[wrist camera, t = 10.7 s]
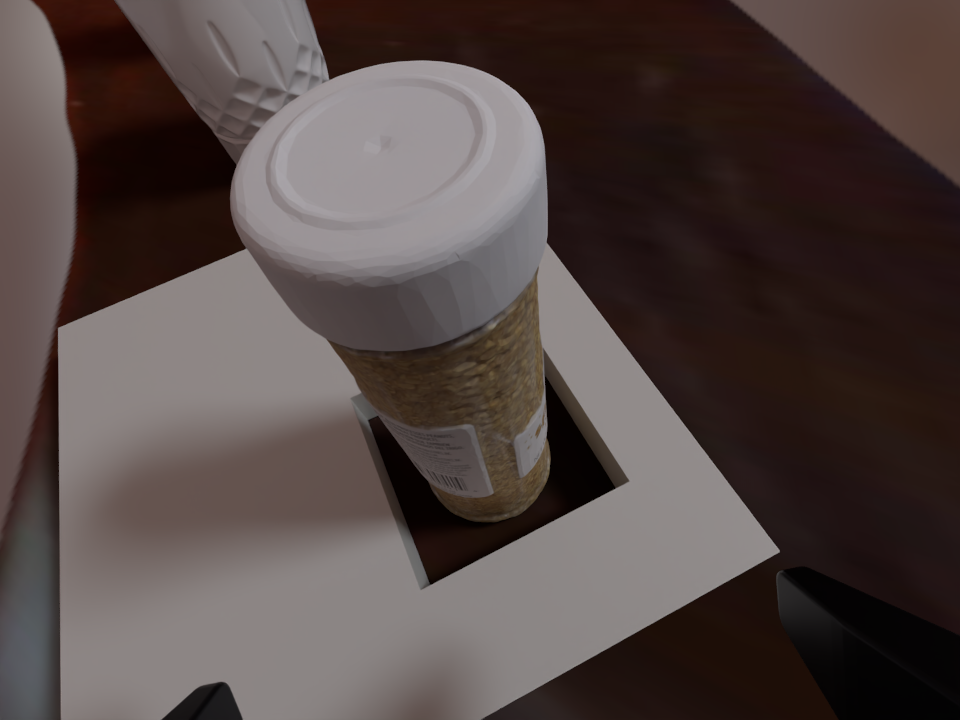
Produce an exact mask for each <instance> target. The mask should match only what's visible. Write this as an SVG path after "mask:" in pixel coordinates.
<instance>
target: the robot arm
mask: <svg viewBox="0 0 960 720" xmlns="http://www.w3.org/2000/svg"><path fill="white" fill-rule="evenodd" d="M777 592H778V604H779V614H780V619H781V622H782V624H783V627H784V629H785V631H786V633H787V634H788V636H789V638H790V639H791V641H792V643H793V644H794V646H795V648H796V649H797V651H798V653H799V654H800V656H801V658H802V659H803V661H804V663H805V664H806V666H807V668H808V669H809V671H810V673H811V674H812V676H813V678H814V679H815V681H816V683H817V684H818V686H819V688H820V689H821V691H822V693H823V694H824V696H825V698H826V699H827V701H828V703H829V704H830V706H831V708H832V709H833V711H834V713H835V714H836V716H837V718H838V719H839V720H960V635H958V634H955V633H953V632H951V631H949V630H946V629H944V628H942V627H940V626H937V625H935V624H933V623H931V622H929V621H926V620H924V619H922V618H920V617H917V616H915V615H913V614H911V613H908V612H906V611H904V610H902V609H900V608H897V607H895V606H893V605H891V604H888V603H886V602H884V601H882V600H879V599H877V598H875V597H873V596H871V595H868V594H866V593H864V592H862V591H859V590H857V589H855V588H853V587H850V586H848V585H846V584H844V583H841V582H839V581H837V580H835V579H833V578H830V577H828V576H826V575H824V574H821V573H819V572H817V571H815V570H812V569H810V568H807V567H795V568H790V569H785V570H781V571H780V572H778V574H777ZM161 720H243V718H242V715H241V713H240V710H239V708H238V706H237V703H236V701H235V698H234V696H233V693H232V691H231V689H230V687H229V685H228V684H227V683H225V682H216V683H211V684H206V685H202V686H200V687H198V688H196V689H195V690H194V691H193V692H192V693H191V694H189V695H188V696H187V697H186V698H185V699H184V700H183V701H182V702H180V703H179V704H178V705H177V706H176V707H175V708H174V709H173V710H171V711H170V712H169V713H168V714H167V715H166V716H165V717H164V718H163V719H161Z"/></svg>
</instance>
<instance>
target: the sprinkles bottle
mask: <svg viewBox="0 0 960 720" xmlns="http://www.w3.org/2000/svg"><path fill="white" fill-rule="evenodd" d="M230 203H231V213H232V219H233V222H234V225H235V228H236V230H237V232H238V234H239V236H240V238H241V240H242V242H243V244H244V245H245V247H246V248H247V249H248V251H249V252H250V254H251V255H252V257H253V258H254V260H255V261H256V263H257V264H258V266H259V267H260V269H261V270H262V272H263V273H264V275H265V276H266V278H267V279H268V281H269V282H270V283H271V285H272V286H273V287H274V289H275V290H276V291H277V293H278V294H279V295H280V297H281V298H282V299H283V301H284V302H285V303H286V305H287V306H288V307H289V309H290V310H291V311H292V312H293V314H294V315H295V316H296V317H297V318H298V319H299V320H300V321H301V322H302V323H303V324H305V325H306V326H307V327H308V328H310V329H311V330H312V331H314V332H316V333H317V334H319V335H320V336H322V337H324V338H326V339H327V341H328V342H329V343H330V345H331V346H332V348H333V349H334V351H335V352H336V354H337V355H338V356H339V357H340V358H341V360H342V361H343V362H344V364H345V365H346V367H347V368H348V370H349V371H350V373H351V374H352V375H353V376H354V378H355V381H356V384H357V386H358V388H359V390H360V391H361V393H362V394H363V396H364V397H365V399H366V400H367V402H368V403H369V405H370V406H371V407H372V408H373V410H374V411H375V412H376V414H377V415H378V416H379V418H380V419H381V420H382V422H383V423H384V424H385V426H386V427H387V428H388V430H389V431H390V432H391V434H392V435H393V436H394V438H395V439H396V440H397V442H398V443H399V444H400V446H401V447H402V448H403V450H404V451H405V453H406V454H407V455H408V457H409V458H410V459H411V461H412V462H413V464H414V465H415V466H416V468H417V469H418V470H419V472H420V473H421V474H422V475H423V476H424V477H425V478H426V479H427V480H428V482H429V484H430V487H431V489H432V491H433V493H434V494H435V495H436V496H437V498H438V500H439V501H440V502H441V503H442V504H443V505H444V506H445V507H446V508H447V509H448V510H449V511H450V512H452V513H454V514H455V515H457V516H460V517H462V518H465V519H467V520H471V521H474V522H498V521H500V520H506V519H508V518H512V517H515V516H517V515H519V514H521V513H522V512H523V511H525V510H526V509H527V508H528V507H529V506H530V505H531V504H532V503H533V502H534V501H535V500H536V499H537V497H538V495H539V493H540V492H541V491H542V489H543V487H544V485H545V484H546V482H547V479H548V476H549V471H550V461H551V457H550V449H549V443H548V440H547V438H546V436H547V411H546V396H545V376H544V356H543V345H542V339H541V333H540V329H539V304H538V282H537V275H538V270H539V264H540V261H541V259H542V256H543V253H544V250H545V246H546V241H547V228H548V211H547V180H546V164H545V148H544V141H543V137H542V132H541V128H540V126H539V124H538V122H537V119H536V117H535V115H534V113H533V111H532V110H531V108H530V106H529V105H528V104H527V103H526V101H525V100H524V99H523V98H522V97H521V96H520V95H519V94H518V93H517V92H516V91H515V90H514V89H512V88H511V87H509V86H508V85H507V84H505V83H504V82H502V81H501V80H499V79H498V78H496V77H494V76H492V75H490V74H488V73H485V72H483V71H480V70H477V69H474V68H471V67H468V66H464V65H458V64H452V63H446V62H437V61H405V62H393V63H386V64H380V65H375V66H371V67H367V68H363V69H360V70H357V71H353V72H350V73H347V74H344V75H341V76H338V77H336V78H334V79H332V80H329V81H327V82H325V83H322V84H320V85H318V86H316V87H315V88H313V89H311V90H309V91H307V92H305V93H304V94H302V95H300V96H299V97H297V98H296V99H294V100H293V101H291V102H290V103H288V104H287V105H285V106H284V107H283V108H282V109H281V110H279V111H278V112H277V113H276V114H275V115H274V116H273V117H271V118H270V119H269V120H268V121H267V122H266V123H265V124H264V125H263V126H262V127H261V128H260V130H259V131H258V132H257V133H256V134H255V136H254V137H253V138H252V140H251V141H250V142H249V144H248V145H247V147H246V148H245V149H244V152H243V154H242V156H241V158H240V160H239V162H238V164H237V166H236V169H235V172H234V176H233V179H232V183H231V193H230Z"/></svg>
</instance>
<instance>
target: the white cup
mask: <svg viewBox="0 0 960 720" xmlns="http://www.w3.org/2000/svg"><path fill="white" fill-rule="evenodd" d="M114 1H115V2H116V4H117V5H118V6H119V8H120V9H121V11H122V12H123V13H124V15H125V16H126V17H127V19H128V20H129V22H130V23H131V24H132V26H133V27H134V29H135V30H136V31H137V33H138V34H139V35H140V37H141V38H142V40H143V41H144V42H145V44H146V45H147V47H148V48H149V49H150V51H151V52H152V54H153V55H154V56H155V58H156V59H157V60H158V62H159V63H160V65H161V66H162V67H163V69H164V70H165V72H166V73H167V74H168V76H169V77H170V78H171V80H172V81H173V83H174V84H175V85H176V87H177V88H178V89H179V91H180V92H181V93H182V94H183V95H184V97H185V98H186V99H187V101H188V102H189V104H190V105H191V106H192V108H193V109H194V110H195V111H196V113H197V114H198V115H199V117H200V118H201V119H202V120H203V121H204V122H205V123H206V124H207V125H208V126H209V127H210V128H211V129H212V131H213V132H214V134H215V135H216V137H217V138H218V139H219V141H220V142H221V144H222V145H223V147H224V148H225V149H226V151H227V152H228V154H229V155H230V156H231V158H232V159H233V161H234V162H235V163H236V165H237V164H238V162H239V160H240V158H241V156H242V154H243V152H244V149H245V148H246V147H247V145H248V144H249V142H250V141H251V140H252V138H253V137H254V136H255V134H256V133H257V132H258V131H259V130H260V128H261V127H262V126H263V125H264V124H265V123H266V122H267V121H268V120H269V119H270V118H271V117H273V116H274V115H275V114H276V113H277V112H278V111H279V110H281V109H282V108H283V107H284V106H285V105H287V104H288V103H290V102H291V101H293V100H294V99H296V98H297V97H299V96H300V95H302V94H304V93H305V92H307V91H309V90H311V89H313V88H315V87H316V86H318V85H320V84H322V83H325V82H327V81H329V76H328V71H327V67H326V63H325V59H324V57H323V54H322V51H321V48H320V46H319V43H318V40H317V36H316V32H315V29H314V25H313V22H312V19H311V16H310V13H309V11H308V8H307V5H306V2H305V0H114Z"/></svg>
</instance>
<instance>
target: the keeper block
mask: <svg viewBox="0 0 960 720" xmlns="http://www.w3.org/2000/svg"><path fill="white" fill-rule="evenodd" d="M537 282H538V304H539V329H540V333H541V339H542V345H543V356H544V374H545V376H546V377H547V379H548V381H549V382H550V384H551V385H552V387H553V389H554V390H555V392H556V393H557V395H558V397H559V398H560V400H561V401H562V403H563V405H564V406H565V408H566V409H567V411H568V413H569V414H570V416H571V417H572V419H573V421H574V422H575V424H576V425H577V427H578V429H579V430H580V432H581V433H582V435H583V436H584V438H585V440H586V441H587V443H588V444H589V446H590V448H591V449H592V451H593V452H594V454H595V456H596V457H597V459H598V460H599V462H600V464H601V465H602V467H603V468H604V470H605V472H606V473H607V475H608V476H609V478H610V480H611V481H612V483H613V484H614V486H615V488H616V489H614V490H612V491H610V492H608V493H606V494H605V495H603V496H601V497H599V498H597V499H595V500H593V501H591V502H589V503H587V504H585V505H583V506H582V507H580V508H578V509H576V510H574V511H572V512H570V513H568V514H566V515H564V516H562V517H560V518H558V519H557V520H555V521H553V522H551V523H549V524H547V525H545V526H543V527H541V528H539V529H537V530H535V531H534V532H532V533H530V534H528V535H526V536H524V537H522V538H520V539H518V540H516V541H514V542H512V543H511V544H509V545H507V546H505V547H503V548H501V549H499V550H497V551H495V552H493V553H491V554H489V555H487V556H486V557H484V558H482V559H480V560H478V561H476V562H474V563H472V564H470V565H468V566H466V567H464V568H463V569H461V570H459V571H457V572H455V573H453V574H451V575H449V576H447V577H445V578H443V579H441V580H439V581H438V582H436V583H434V584H432V585H430V583H429V581H428V578H427V576H426V573H425V570H424V568H423V565H422V562H421V560H420V557H419V554H418V552H417V549H416V547H415V544H414V541H413V539H412V536H411V533H410V531H409V528H408V525H407V523H406V520H405V517H404V515H403V512H402V510H401V507H400V504H399V502H398V499H397V496H396V494H395V491H394V488H393V486H392V483H391V481H390V478H389V475H388V473H387V470H386V467H385V465H384V462H383V459H382V457H381V454H380V452H379V449H378V446H377V444H376V441H375V438H374V436H373V433H372V430H371V428H370V425H369V422H368V420H369V419H371V418H374V417H376V416H378V415H377V414H376V412H375V411H374V410H373V408H372V407H371V406H370V405H369V403H368V402H367V400H366V399H365V397H364V396H363V394H362V393H361V391H360V390H359V388H358V386H357V384H356V381H355V378H354V376H353V375H352V374H351V373H350V371H349V370H348V368H347V367H346V365H345V364H344V362H343V361H342V360H341V358H340V357H339V356H338V355H337V354H336V352H335V351H334V349H333V348H332V346H331V345H330V343H329V342H328V341H327V339H326V338H324V337H322V336H320V335H319V334H317V333H316V332H314V331H312V330H311V329H310V328H308V327H307V326H306V325H305V324H303V323H302V322H301V321H300V320H299V319H298V318H297V317H296V316H295V315H294V314H293V312H292V311H291V310H290V309H289V307H288V306H287V305H286V303H285V302H284V301H283V299H282V298H281V297H280V295H279V294H278V293H277V291H276V290H275V289H274V287H273V286H272V285H271V283H270V282H269V281H268V279H267V278H266V276H265V275H264V273H263V272H262V270H261V269H260V267H259V266H258V264H257V263H256V261H255V260H254V258H253V257H252V255H251V254H250V252H249V251H248V249H245V250H243V251H240V252H238V253H236V254H233V255H231V256H228V257H226V258H224V259H221V260H219V261H217V262H214V263H212V264H209V265H207V266H205V267H202V268H200V269H198V270H195V271H193V272H190V273H188V274H186V275H183V276H181V277H179V278H176V279H174V280H171V281H169V282H167V283H164V284H162V285H160V286H157V287H155V288H152V289H150V290H148V291H145V292H143V293H140V294H138V295H136V296H133V297H131V298H129V299H126V300H124V301H121V302H119V303H117V304H114V305H112V306H110V307H107V308H105V309H102V310H100V311H98V312H95V313H93V314H91V315H88V316H86V317H83V318H81V319H79V320H76V321H74V322H72V323H69V324H67V325H64V326H62V327H60V328H58V371H59V519H60V667H61V720H161V719H163V718H164V717H165V716H166V715H167V714H168V713H169V712H170V711H171V710H173V709H174V708H175V707H176V706H177V705H178V704H179V703H180V702H182V701H183V700H184V699H185V698H186V697H187V696H188V695H189V694H191V693H192V692H193V691H194V690H195V689H196V688H198V687H200V686H202V685H206V684H211V683H216V682H225V683H227V684H228V685H229V687H230V689H231V691H232V693H233V696H234V698H235V701H236V703H237V706H238V708H239V710H240V713H241V715H242V718H243V720H481V719H482V718H484V717H486V716H488V715H489V714H491V713H493V712H495V711H497V710H498V709H500V708H502V707H504V706H506V705H507V704H509V703H511V702H513V701H514V700H516V699H518V698H520V697H522V696H523V695H525V694H527V693H529V692H531V691H532V690H534V689H536V688H538V687H539V686H541V685H543V684H545V683H547V682H548V681H550V680H552V679H554V678H555V677H557V676H559V675H561V674H563V673H564V672H566V671H568V670H570V669H572V668H573V667H575V666H577V665H579V664H580V663H582V662H584V661H586V660H588V659H589V658H591V657H593V656H595V655H597V654H598V653H600V652H602V651H604V650H605V649H607V648H609V647H611V646H613V645H614V644H616V643H618V642H620V641H622V640H623V639H625V638H627V637H629V636H630V635H632V634H634V633H636V632H638V631H639V630H641V629H643V628H645V627H646V626H648V625H650V624H652V623H654V622H655V621H657V620H659V619H661V618H663V617H664V616H666V615H668V614H670V613H671V612H673V611H675V610H677V609H679V608H680V607H682V606H684V605H686V604H688V603H689V602H691V601H693V600H695V599H696V598H698V597H700V596H702V595H704V594H705V593H707V592H709V591H711V590H713V589H714V588H716V587H718V586H720V585H721V584H723V583H725V582H727V581H729V580H730V579H732V578H734V577H736V576H738V575H739V574H741V573H743V572H745V571H746V570H748V569H750V568H752V567H754V566H755V565H757V564H759V563H761V562H762V561H764V560H766V559H768V558H770V557H771V556H773V555H775V554H777V553H779V552H780V551H779V549H778V548H777V547H776V545H775V544H774V543H773V542H772V540H771V539H770V538H769V536H768V535H767V534H766V532H765V531H764V530H763V528H762V527H761V526H760V524H759V523H758V522H757V520H756V519H755V518H754V516H753V515H752V514H751V512H750V511H749V510H748V508H747V507H746V506H745V504H744V503H743V502H742V501H741V499H740V498H739V497H738V495H737V494H736V493H735V491H734V490H733V489H732V487H731V486H730V485H729V483H728V482H727V481H726V479H725V478H724V477H723V475H722V474H721V473H720V471H719V470H718V469H717V467H716V466H715V465H714V464H713V462H712V461H711V460H710V458H709V457H708V456H707V454H706V453H705V452H704V450H703V449H702V448H701V446H700V445H699V444H698V442H697V441H696V440H695V438H694V437H693V436H692V434H691V433H690V432H689V430H688V429H687V428H686V426H685V425H684V424H683V423H682V421H681V420H680V419H679V417H678V416H677V415H676V413H675V412H674V411H673V409H672V408H671V407H670V405H669V404H668V403H667V401H666V400H665V399H664V397H663V396H662V395H661V393H660V392H659V391H658V389H657V388H656V387H655V386H654V384H653V383H652V382H651V380H650V379H649V378H648V376H647V375H646V374H645V372H644V371H643V370H642V368H641V367H640V366H639V364H638V363H637V362H636V360H635V359H634V358H633V356H632V355H631V354H630V352H629V351H628V350H627V348H626V347H625V346H624V345H623V343H622V342H621V341H620V339H619V338H618V337H617V335H616V334H615V333H614V331H613V330H612V329H611V327H610V326H609V325H608V323H607V322H606V321H605V319H604V318H603V317H602V315H601V314H600V313H599V311H598V310H597V309H596V307H595V306H594V305H593V304H592V302H591V301H590V300H589V298H588V297H587V296H586V294H585V293H584V292H583V290H582V289H581V288H580V286H579V285H578V284H577V282H576V281H575V280H574V278H573V277H572V276H571V274H570V273H569V272H568V270H567V269H566V268H565V267H564V265H563V264H562V263H561V261H560V260H559V259H558V257H557V256H556V255H555V253H554V252H553V251H552V249H551V248H550V247H549V245H548V244H547V243H546V246H545V250H544V253H543V256H542V259H541V261H540V264H539V270H538V275H537Z"/></svg>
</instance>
